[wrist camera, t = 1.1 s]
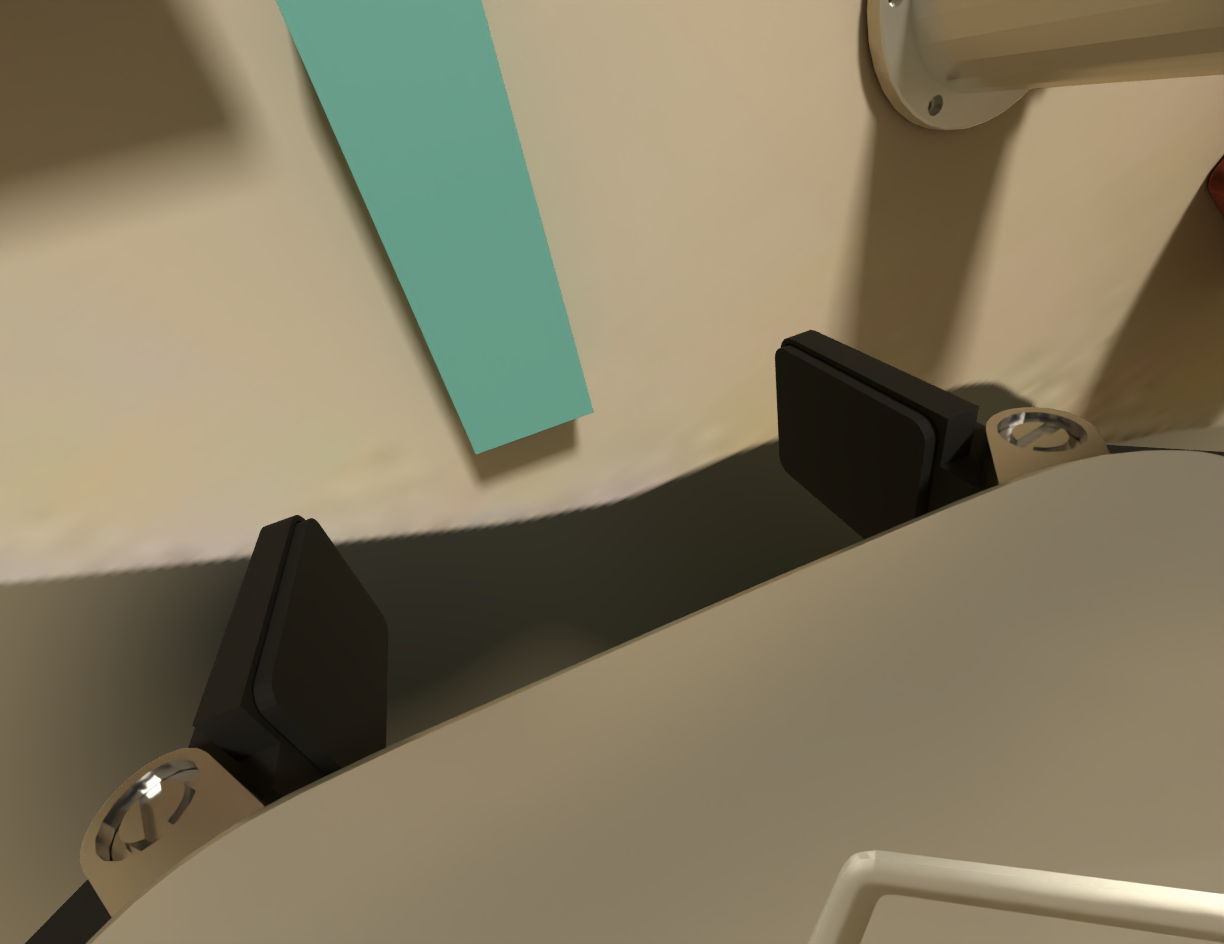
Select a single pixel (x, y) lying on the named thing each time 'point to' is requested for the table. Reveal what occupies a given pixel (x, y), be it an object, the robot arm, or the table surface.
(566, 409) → the teal flat plank
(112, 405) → the table surface
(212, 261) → the table surface
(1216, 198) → the plant pot
